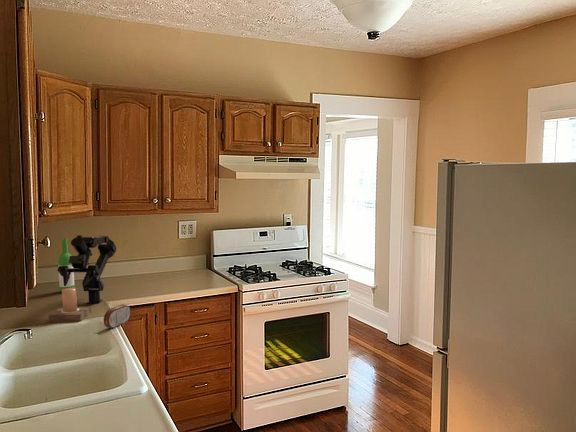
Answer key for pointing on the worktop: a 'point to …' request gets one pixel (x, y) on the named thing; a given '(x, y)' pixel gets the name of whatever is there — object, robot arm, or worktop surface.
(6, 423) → the worktop surface
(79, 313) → the base
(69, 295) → the column
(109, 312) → the tin
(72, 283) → the wine bottle
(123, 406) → the worktop surface
